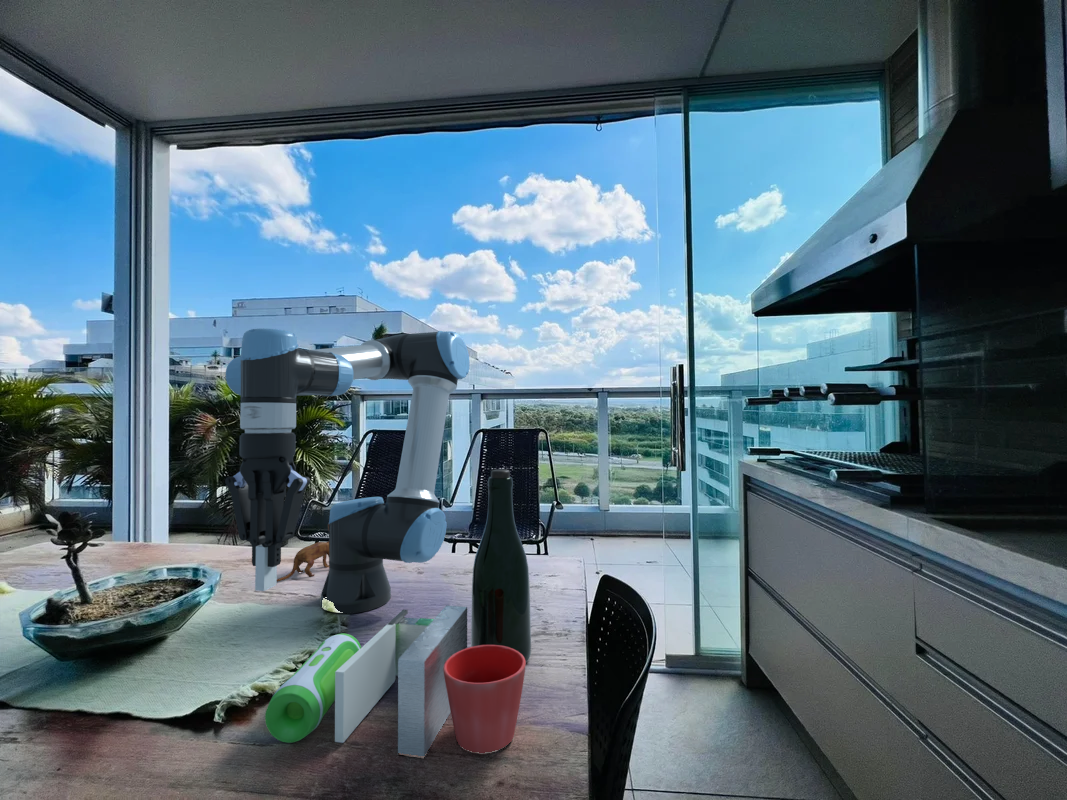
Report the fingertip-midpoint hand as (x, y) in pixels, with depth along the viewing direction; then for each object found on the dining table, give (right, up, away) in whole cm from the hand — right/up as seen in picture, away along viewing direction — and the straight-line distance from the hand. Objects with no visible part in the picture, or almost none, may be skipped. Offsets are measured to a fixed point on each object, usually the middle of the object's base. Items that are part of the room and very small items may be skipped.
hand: (266, 587), depth 74 cm
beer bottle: (+35, -17, +12) cm, 41 cm away
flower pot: (+34, -17, -9) cm, 39 cm away
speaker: (+9, -17, -2) cm, 19 cm away
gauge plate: (+17, -16, -1) cm, 24 cm away
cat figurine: (-20, -19, +58) cm, 64 cm away
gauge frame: (+22, -17, -2) cm, 28 cm away
